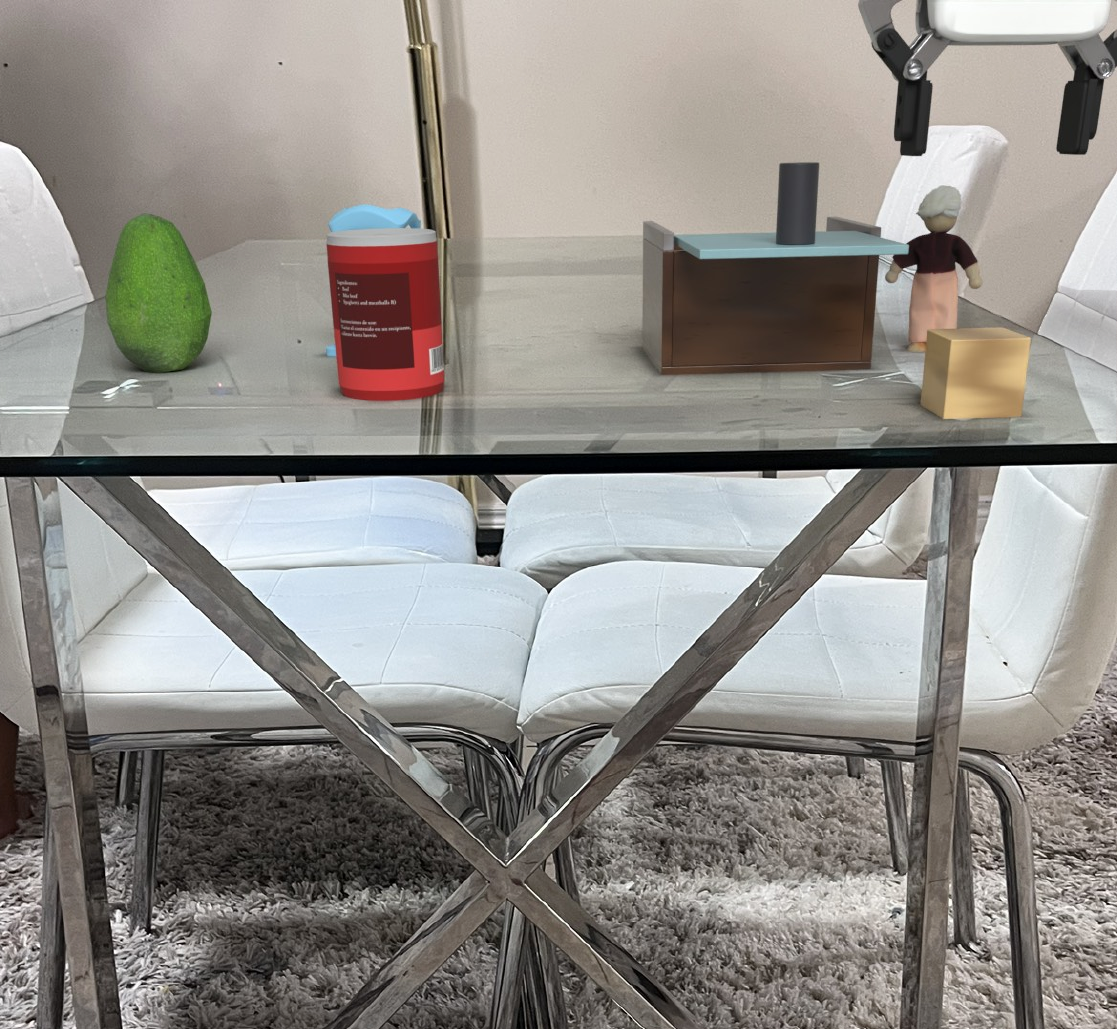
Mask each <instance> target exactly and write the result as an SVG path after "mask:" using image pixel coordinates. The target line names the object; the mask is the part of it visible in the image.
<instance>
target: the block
mask: <svg viewBox="0 0 1117 1029" xmlns="http://www.w3.org/2000/svg"><path fill="white" fill-rule="evenodd" d="M1031 342H1032V337H1029V336H1027V335H1024V334H1021V333H1018V332H1015V331H1013V330H1011V329H1008V328H1005V327H1003V326H1002V327H969V328H968V327H966V328H965V327H964V328H963V327H962V328H957V329H928V330H927V339H926V350H925V351H924V362H923V372H922V373H923V374H922V383H921V384H922V385H921V395H920V406H922V407H923V408H925V409H927V410H928V411H929V412H931V413H933V414H934V415H936V416H938V417H939V418H941V419H942V420H955V419H956V420H958V419H959V420H960V419H962V420H963V419H991V418H992V419H995V418H997V419H998V418H1021V417H1022V415H1023V409H1024V408H1023V407H1024V399H1025V391H1026V382H1027V376H1028V375H1027V374H1028V367H1029V358H1030V350H1031Z"/></svg>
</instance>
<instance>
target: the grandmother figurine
mask: <svg viewBox="0 0 1117 1029" xmlns="http://www.w3.org/2000/svg"><path fill="white" fill-rule="evenodd" d="M962 202H963V201H962V194H961V193H960V190H959V189H957V187H954V186H951V185H944V184H943V185H938V187H936V188H933V189H931V191H929V192H928V193H926V194H925V196H924V198H923V199H922V201H921V203H919V206H918V209H917V210H918V211H917V212H915V215H917V216H919V218H921V220H922V221H923V223H924V227H925V228H926V229H927V230H928V231H929V233H925V234H921V235H918V236H916V237H914V238H913V239H911V240H909V241H908V242H906V243H905V244H907V245H909V250H908V254H899V255H892V261H891V263H890V266H889V270H888V271H887V272H885V276H884V280H885V281H886V282H887V283H888V284H895V283H896V282H897V281H898V279H899V275H900V274H901V273H902V272H903V271H904V269H906V268H910V267H913V266H916V269H915V272H914V274H913V278H912V284H911V290H910V291H911V292H910V293H911V294H910V300H909V301H910V302H909V307H908V308H909V309H908V342H910V344H909V345H908V346H907V349H906V350H907V351H908V352H915V353H918V352H919V353H925V350H926V339H927V330H928V329H958V309H959V308H958V306H959V305H958V304H959V277H958V273H957V270H956V264H958V265H959V266H960V267H961V269H962V270H963V271H964V272H965V276H966V278H967V279H968V286H969V288H971V289H972V290H977V289H981V287H982V286H983V278H982V277H981V276H980V267H979V265H978V262H979V261H978V258H977V257H976V255H975V254H974V251H973V250H972V249H971V247H970V246H969V244H968V243H967V242H966V241H965V240H964V239H963V238H962V237H961V236H959V235H956V234H952V233H949V232H950V231H951V230H952V229H953V228H955V226H956V223H957V222H958V217H959V214H960V210H961V209H962V207H961V206H962Z"/></svg>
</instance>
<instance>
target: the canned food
mask: <svg viewBox="0 0 1117 1029" xmlns="http://www.w3.org/2000/svg"><path fill="white" fill-rule="evenodd" d="M436 232H437V231H435V230H433V229H429V228H421V229H417V228H411V227H410V228H409V227H408V228H407V227H406V228H385V229H360V230H346V231H337V232H331V231H330V232H329V233H327V234H326V243H325V244H326V256H327V270H328V280H329V293H330V304H331V312H332V314H331V315H332V324H333V336H334V344H335V348H336V356H335V358H336V368H337V369H336V370H337V379H338V385H339V388H340V391H341V394H342V395H343V397H346V398H348V399H353V400H358V401H370V402H371V401H372V402H391V401H392V402H395V401H396V402H397V401H408V400H416V399H417V400H418V399H424V398H428V397H432V396H436V395H438V394H440V393H442V392H443V388H444V384H445V365H444V363H445V362H444V344H443V326H442V324H443V323H442V304H441V287H440V286H441V285H440V265H439V252H438V238H437V234H436Z"/></svg>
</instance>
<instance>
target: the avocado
mask: <svg viewBox="0 0 1117 1029" xmlns="http://www.w3.org/2000/svg"><path fill="white" fill-rule="evenodd" d="M105 291H106V292H105V297H104V298H105V308H106V321H107V326H108V327H109V330H110V333H111V335H112V337H113V340H114V342H115V344H116V347H117V349H118V350H119V351H120V352H121V353H122V355H123V356H124V358H125V359H126V360H128V361H129V362H130V363H131V364H133V365H134V366H136V367H138V368H139V369H141V370H142V371H144V372H146V373H153V374H155V373H156V374H163V373H170V372H177V371H183V370H184V369H186V368H187V367H188V366H189V365H191V363H193V362H194V361H195V359H197V358H198V357H199V356H200V354H201V353H202V352H203V350H204V348H205V345H206V343H207V341H208V338H209V333H210V327H211V319H212V314H213V311H212V307H211V303H210V300H209V295H208V291H207V288H206V283H205V281H204V279H203V276H202V274H201V271H200V269H199V268H198V266H197V263H196V261H195V259H194V257H193V255H192V253H191V251H190V249H189V246H188V245H187V243H186V241H185V239H184V237H183V236H182V233H181V232H180V230H179V229H178V228H177V227H176V226H175V225H174V223H173V222H172V221H169V220H167V219H166V218H163V217H161V216H159V215H155V214H151V213H146V212H144V213H142V214H139V215H138V216H135V217H133V218H131V219H130V220H129V221H128V222H127V223H125V225H124V227H123V228H122V230H121V232H120V234H119V238H118V241H117V244H116V248H115V251H114V255H113V259H112V263H111V267H110V270H109V274H108V280H107V285H106V290H105Z"/></svg>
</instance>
